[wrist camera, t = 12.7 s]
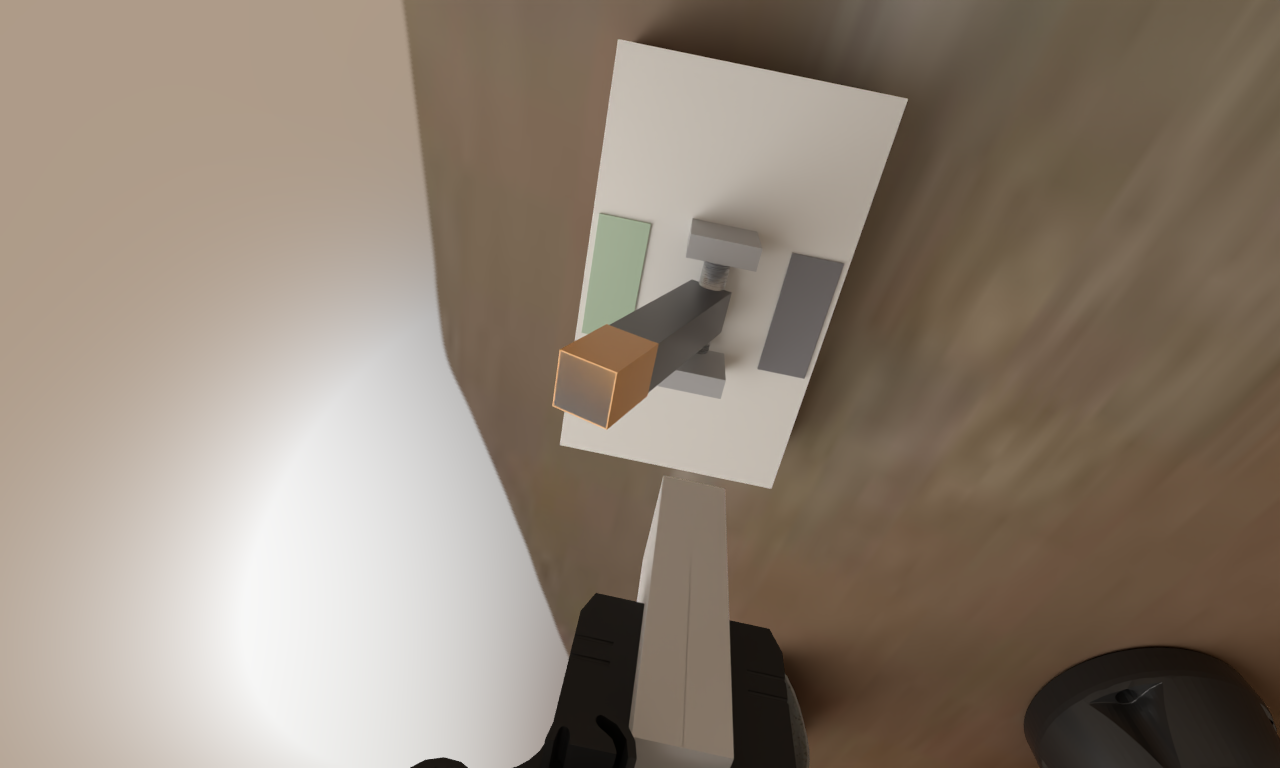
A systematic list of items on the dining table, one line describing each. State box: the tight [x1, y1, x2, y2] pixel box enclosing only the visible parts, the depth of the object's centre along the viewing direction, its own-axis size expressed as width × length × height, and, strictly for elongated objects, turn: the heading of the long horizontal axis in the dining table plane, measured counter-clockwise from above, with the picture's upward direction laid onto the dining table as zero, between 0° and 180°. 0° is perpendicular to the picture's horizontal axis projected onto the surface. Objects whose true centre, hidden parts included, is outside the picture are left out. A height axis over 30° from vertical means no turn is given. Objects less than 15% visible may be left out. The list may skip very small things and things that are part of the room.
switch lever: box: [552, 261, 732, 430], centre depth 24 cm, size 4×2×12 cm, turn 170°
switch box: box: [560, 39, 908, 489], centre depth 30 cm, size 20×12×8 cm, turn 170°
